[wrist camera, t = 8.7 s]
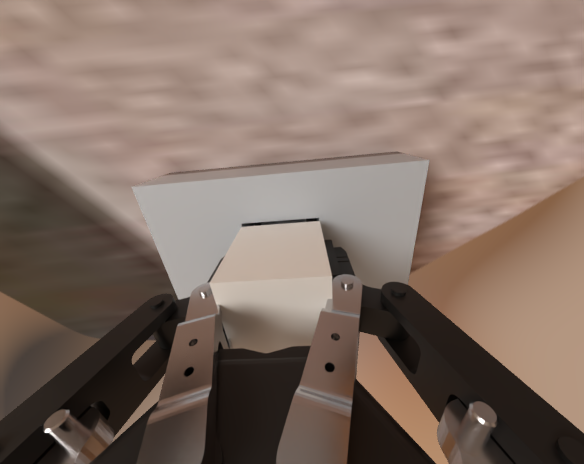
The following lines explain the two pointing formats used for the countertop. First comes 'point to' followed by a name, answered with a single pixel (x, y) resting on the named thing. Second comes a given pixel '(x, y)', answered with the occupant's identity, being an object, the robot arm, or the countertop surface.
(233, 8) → the countertop surface
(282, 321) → the cream rectangular block
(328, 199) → the grey rectangular block
